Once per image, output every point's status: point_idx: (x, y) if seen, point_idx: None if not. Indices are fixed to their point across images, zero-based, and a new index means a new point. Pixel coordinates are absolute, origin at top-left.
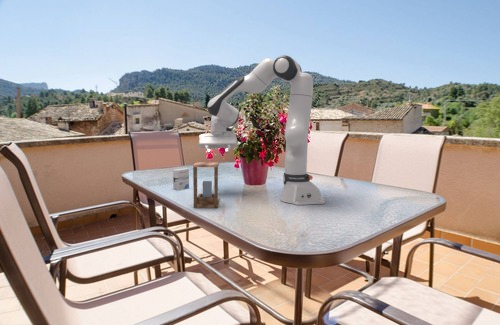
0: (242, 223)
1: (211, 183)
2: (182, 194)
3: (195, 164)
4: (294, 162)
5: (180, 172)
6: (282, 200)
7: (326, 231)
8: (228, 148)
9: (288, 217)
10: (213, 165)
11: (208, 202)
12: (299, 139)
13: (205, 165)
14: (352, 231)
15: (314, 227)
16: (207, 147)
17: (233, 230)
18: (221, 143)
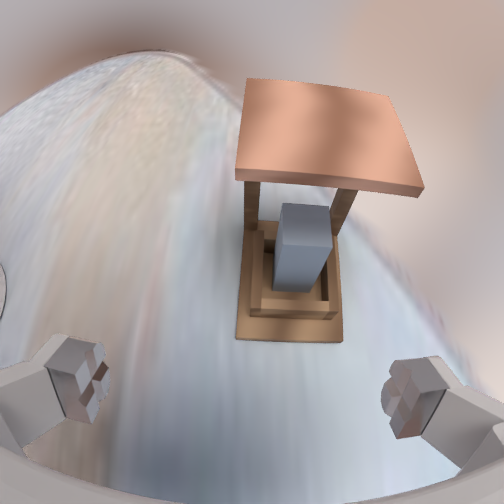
0: (186, 114)
1: (281, 229)
2: (422, 445)
3: (383, 103)
4: None
5: None
6: (4, 289)
7: (61, 100)
8: (21, 363)
9: (70, 149)
10: (272, 81)
11: None
12: None
13: (320, 87)
14: (30, 107)
15: (64, 110)
16: (485, 444)
17: (213, 89)
18: (109, 490)
